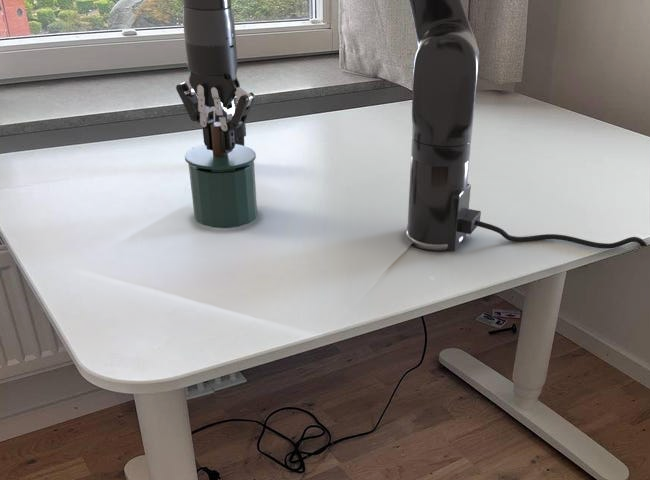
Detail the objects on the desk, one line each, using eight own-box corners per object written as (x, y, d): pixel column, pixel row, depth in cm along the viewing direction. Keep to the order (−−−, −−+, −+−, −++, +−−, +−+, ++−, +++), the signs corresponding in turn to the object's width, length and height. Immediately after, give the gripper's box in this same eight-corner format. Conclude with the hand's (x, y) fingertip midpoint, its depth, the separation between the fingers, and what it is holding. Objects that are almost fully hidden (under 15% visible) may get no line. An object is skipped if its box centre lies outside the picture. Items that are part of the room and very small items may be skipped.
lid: (269, 156, 131) (267, 120, 127) (231, 178, 122) (227, 140, 118) (211, 145, 134) (208, 109, 131) (170, 165, 125) (166, 127, 122)
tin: (268, 213, 136) (265, 157, 130) (235, 235, 128) (230, 177, 122) (218, 202, 139) (212, 147, 134) (182, 223, 131) (175, 166, 126)
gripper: (156, 36, 116) (170, 149, 126) (235, 48, 112) (244, 164, 122) (186, 28, 122) (198, 137, 132) (263, 39, 118) (269, 150, 128)
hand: (220, 149), depth 127 cm, fingers closed on lid, 2 cm apart
